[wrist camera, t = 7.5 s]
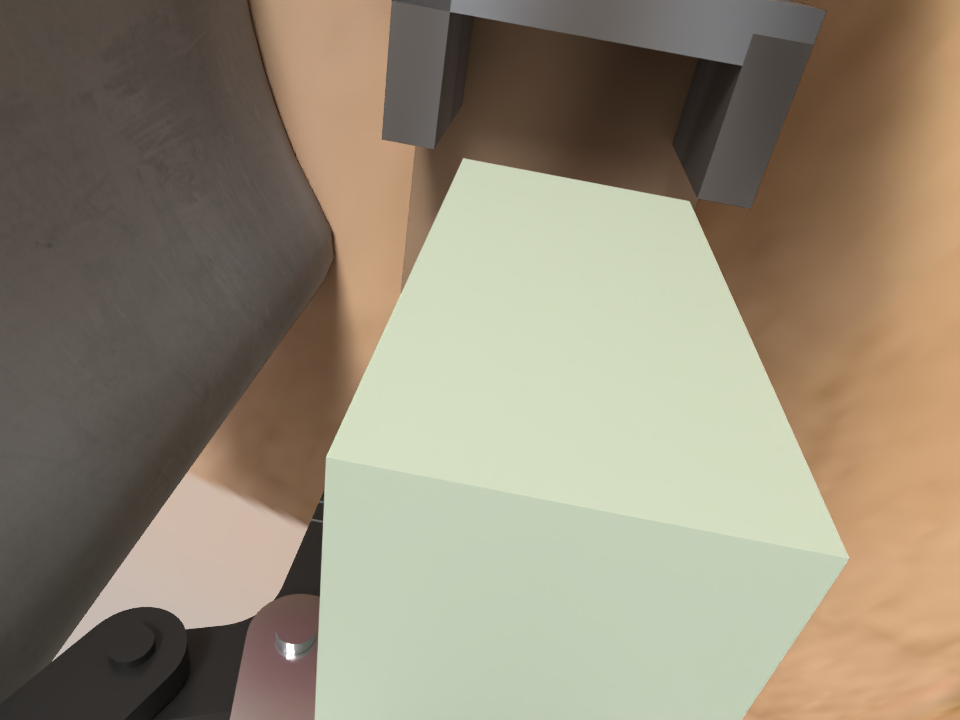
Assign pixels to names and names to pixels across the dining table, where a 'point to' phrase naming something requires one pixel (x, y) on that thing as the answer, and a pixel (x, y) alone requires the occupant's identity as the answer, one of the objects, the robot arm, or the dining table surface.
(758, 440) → the slat
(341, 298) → the dining table surface
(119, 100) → the flask
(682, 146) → the cradle
